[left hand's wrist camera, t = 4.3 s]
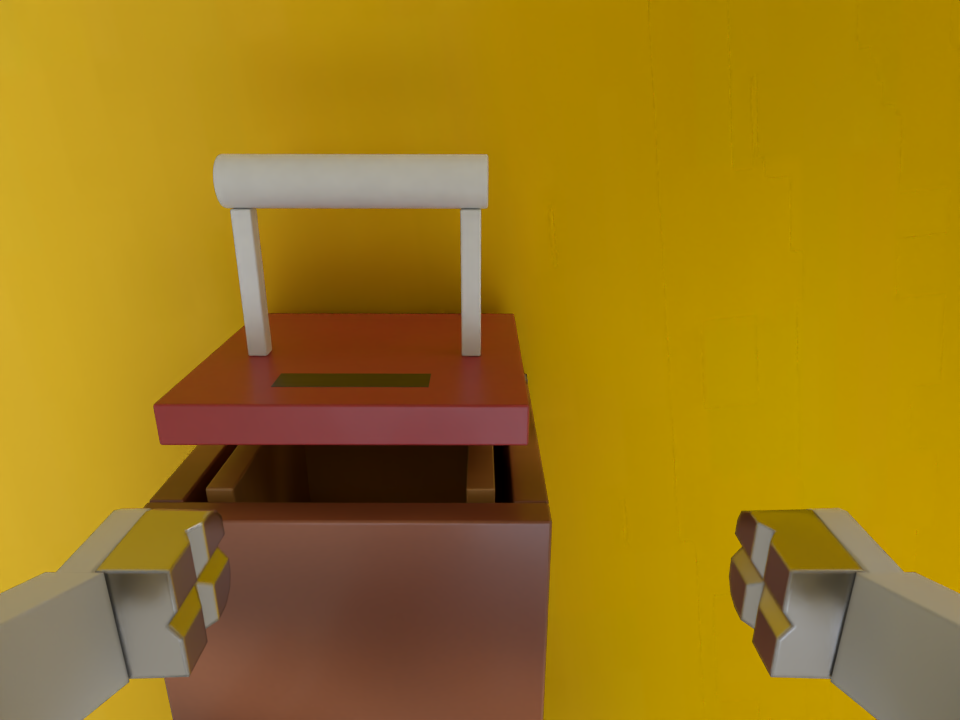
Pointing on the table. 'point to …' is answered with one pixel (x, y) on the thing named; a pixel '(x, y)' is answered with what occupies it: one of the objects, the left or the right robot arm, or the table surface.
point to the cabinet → (375, 603)
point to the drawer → (354, 356)
